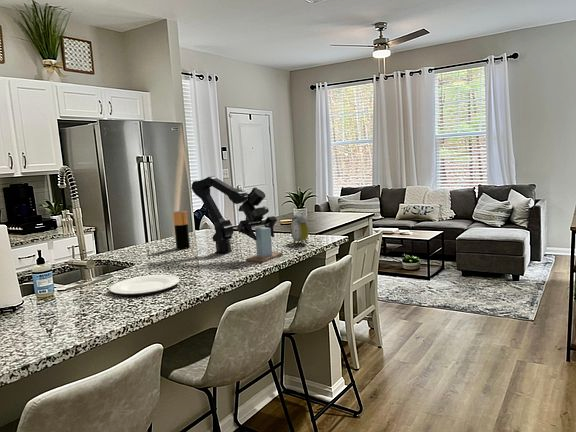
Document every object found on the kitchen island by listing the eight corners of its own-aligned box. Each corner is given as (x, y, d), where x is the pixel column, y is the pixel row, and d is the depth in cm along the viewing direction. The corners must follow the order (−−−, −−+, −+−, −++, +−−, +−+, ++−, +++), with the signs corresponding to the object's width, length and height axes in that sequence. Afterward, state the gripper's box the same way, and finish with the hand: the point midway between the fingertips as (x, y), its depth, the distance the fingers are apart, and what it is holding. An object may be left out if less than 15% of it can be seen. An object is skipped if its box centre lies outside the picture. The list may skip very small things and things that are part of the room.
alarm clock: (290, 242, 241) (289, 214, 240) (302, 240, 244) (300, 213, 242) (300, 245, 231) (299, 216, 229) (312, 244, 234) (311, 215, 232)
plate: (125, 280, 181) (124, 276, 181) (187, 277, 180) (187, 273, 180) (97, 300, 156) (96, 294, 156) (169, 296, 155) (168, 291, 155)
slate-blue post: (257, 255, 207) (255, 228, 205) (266, 254, 210) (264, 227, 208) (262, 257, 203) (261, 229, 201) (272, 255, 206) (270, 228, 204)
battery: (192, 248, 242) (188, 210, 239) (179, 250, 238) (175, 212, 235) (186, 246, 248) (183, 209, 245) (174, 248, 244) (171, 211, 241)
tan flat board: (262, 262, 197) (262, 260, 197) (246, 261, 202) (245, 258, 202) (282, 255, 210) (282, 252, 210) (266, 253, 215) (266, 251, 215)
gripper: (238, 202, 201) (252, 230, 193) (273, 198, 212) (288, 224, 204) (231, 219, 208) (244, 245, 201) (265, 214, 219) (279, 239, 211)
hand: (265, 238), depth 204 cm, fingers open, 9 cm apart
